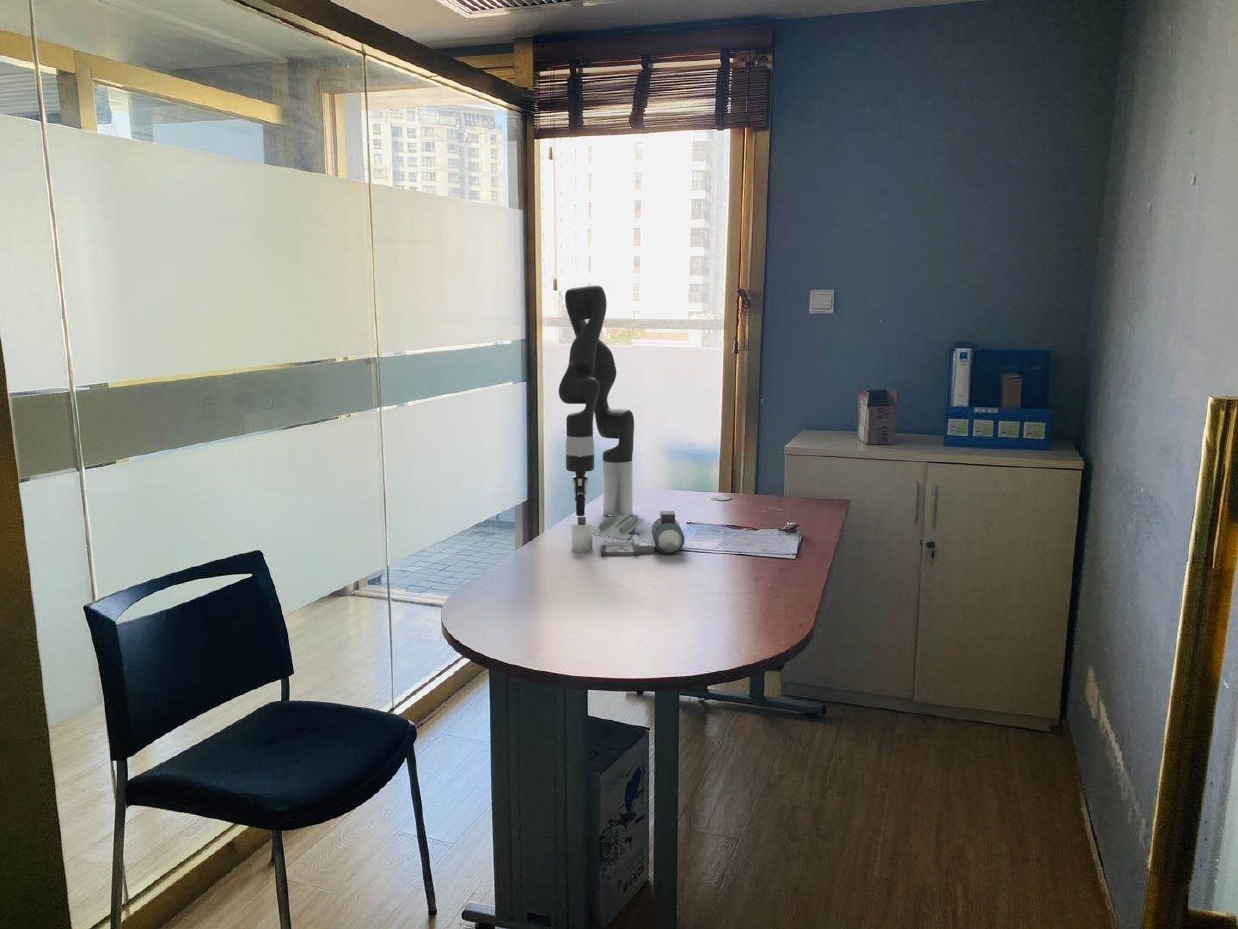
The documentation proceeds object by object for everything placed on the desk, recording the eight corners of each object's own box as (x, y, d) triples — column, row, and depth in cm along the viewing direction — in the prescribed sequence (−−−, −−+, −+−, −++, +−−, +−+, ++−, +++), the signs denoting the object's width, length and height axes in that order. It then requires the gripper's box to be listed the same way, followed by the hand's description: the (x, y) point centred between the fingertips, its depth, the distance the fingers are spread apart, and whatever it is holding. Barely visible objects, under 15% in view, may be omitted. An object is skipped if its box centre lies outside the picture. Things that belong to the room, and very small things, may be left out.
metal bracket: (609, 506, 266) (650, 513, 257) (612, 523, 268) (653, 530, 260) (580, 529, 256) (622, 536, 247) (584, 546, 258) (626, 554, 249)
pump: (572, 546, 243) (571, 515, 242) (592, 546, 243) (592, 515, 242) (571, 552, 238) (571, 520, 236) (592, 551, 238) (592, 519, 236)
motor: (600, 545, 244) (600, 509, 242) (680, 544, 244) (680, 508, 242) (601, 557, 233) (600, 519, 231) (684, 555, 233) (685, 517, 232)
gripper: (566, 448, 243) (567, 506, 245) (565, 456, 229) (565, 518, 231) (594, 448, 243) (594, 506, 246) (594, 456, 229) (594, 518, 232)
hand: (580, 512), depth 238 cm, fingers open, 8 cm apart
